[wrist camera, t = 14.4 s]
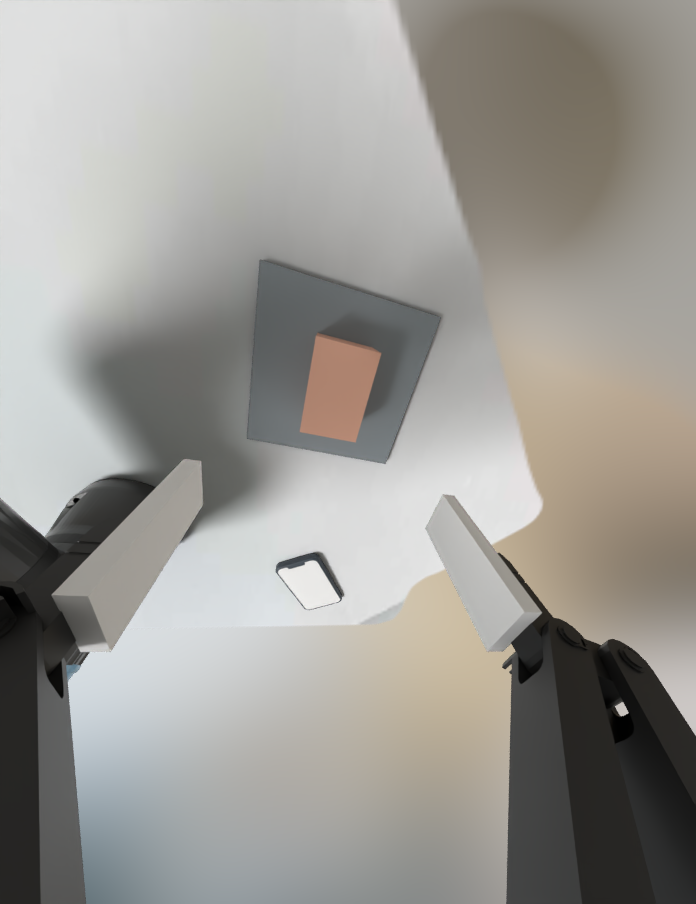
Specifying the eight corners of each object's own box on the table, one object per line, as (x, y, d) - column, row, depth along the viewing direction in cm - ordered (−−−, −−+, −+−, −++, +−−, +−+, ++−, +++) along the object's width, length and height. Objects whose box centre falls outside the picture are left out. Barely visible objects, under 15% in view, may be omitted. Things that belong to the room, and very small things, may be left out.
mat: (248, 436, 34) (246, 438, 33) (261, 261, 25) (259, 259, 24) (384, 461, 38) (385, 463, 37) (438, 317, 29) (441, 317, 28)
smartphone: (343, 594, 54) (317, 549, 46) (344, 601, 53) (317, 557, 45) (306, 604, 55) (274, 562, 47) (305, 611, 54) (272, 569, 46)
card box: (317, 332, 28) (315, 335, 23) (372, 347, 29) (381, 353, 24) (303, 414, 32) (299, 431, 27) (351, 424, 33) (355, 442, 29)
